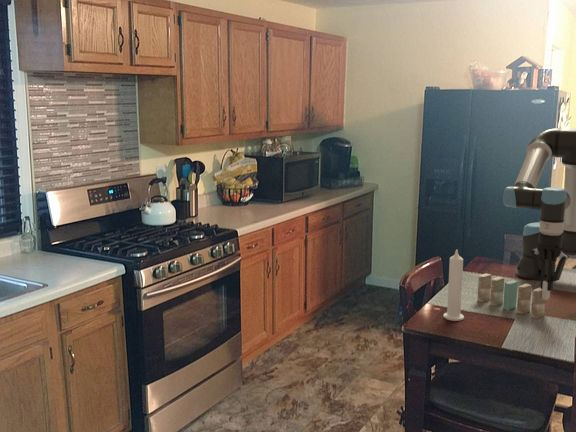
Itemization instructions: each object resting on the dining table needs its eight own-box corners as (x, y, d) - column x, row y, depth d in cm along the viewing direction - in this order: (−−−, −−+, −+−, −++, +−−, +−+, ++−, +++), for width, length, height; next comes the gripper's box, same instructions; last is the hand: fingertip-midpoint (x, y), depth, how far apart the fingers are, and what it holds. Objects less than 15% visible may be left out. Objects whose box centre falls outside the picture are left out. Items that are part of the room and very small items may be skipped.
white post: (453, 322, 204) (456, 252, 199) (439, 316, 210) (442, 248, 205) (468, 318, 207) (471, 250, 202) (454, 312, 213) (457, 245, 208)
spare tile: (503, 308, 217) (504, 282, 215) (510, 305, 220) (512, 280, 218) (508, 310, 215) (510, 284, 213) (516, 307, 218) (517, 281, 216)
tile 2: (516, 312, 212) (518, 286, 210) (524, 309, 215) (526, 283, 213) (522, 314, 211) (524, 287, 209) (529, 311, 214) (531, 285, 212)
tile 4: (489, 304, 221) (491, 279, 219) (497, 301, 224) (499, 276, 222) (495, 306, 219) (496, 280, 217) (502, 303, 222) (504, 278, 220)
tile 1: (530, 317, 208) (532, 290, 206) (538, 313, 211) (540, 287, 209) (536, 318, 206) (538, 291, 204) (544, 315, 209) (546, 288, 207)
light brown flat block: (477, 300, 225) (478, 275, 223) (485, 298, 228) (486, 273, 226) (482, 302, 223) (483, 277, 221) (490, 299, 226) (491, 274, 224)
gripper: (527, 231, 204) (522, 296, 208) (564, 238, 194) (558, 305, 198) (538, 228, 208) (533, 291, 213) (575, 234, 198) (569, 301, 203)
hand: (545, 298), depth 206 cm, fingers closed
